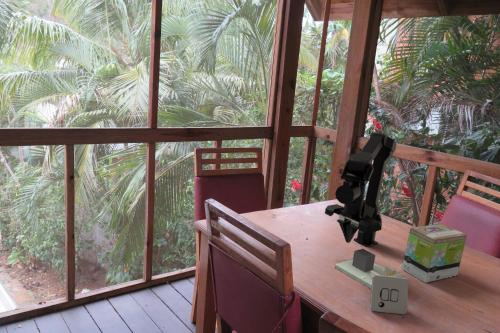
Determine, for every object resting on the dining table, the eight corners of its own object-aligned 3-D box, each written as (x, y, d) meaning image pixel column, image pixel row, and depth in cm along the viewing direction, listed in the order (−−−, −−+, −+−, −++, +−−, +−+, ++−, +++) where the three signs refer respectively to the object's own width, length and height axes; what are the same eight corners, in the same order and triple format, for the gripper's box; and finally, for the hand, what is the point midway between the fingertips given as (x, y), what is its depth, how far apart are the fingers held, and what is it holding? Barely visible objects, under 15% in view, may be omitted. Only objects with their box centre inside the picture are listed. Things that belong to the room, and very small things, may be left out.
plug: (360, 262, 130) (362, 248, 129) (373, 269, 126) (375, 254, 125) (352, 265, 127) (354, 250, 126) (364, 272, 124) (367, 257, 122)
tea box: (426, 284, 122) (435, 239, 118) (400, 269, 130) (408, 226, 127) (458, 276, 129) (468, 233, 125) (432, 262, 137) (440, 222, 134)
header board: (334, 267, 128) (336, 254, 127) (361, 259, 135) (363, 247, 134) (378, 293, 114) (380, 279, 113) (405, 283, 122) (408, 269, 120)
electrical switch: (370, 311, 105) (374, 277, 104) (365, 302, 110) (370, 270, 109) (406, 316, 104) (411, 281, 103) (400, 306, 109) (405, 274, 108)
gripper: (395, 202, 125) (387, 249, 128) (349, 186, 139) (343, 228, 143) (372, 207, 118) (364, 256, 122) (326, 189, 133) (320, 233, 137)
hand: (348, 242), depth 131 cm, fingers closed
